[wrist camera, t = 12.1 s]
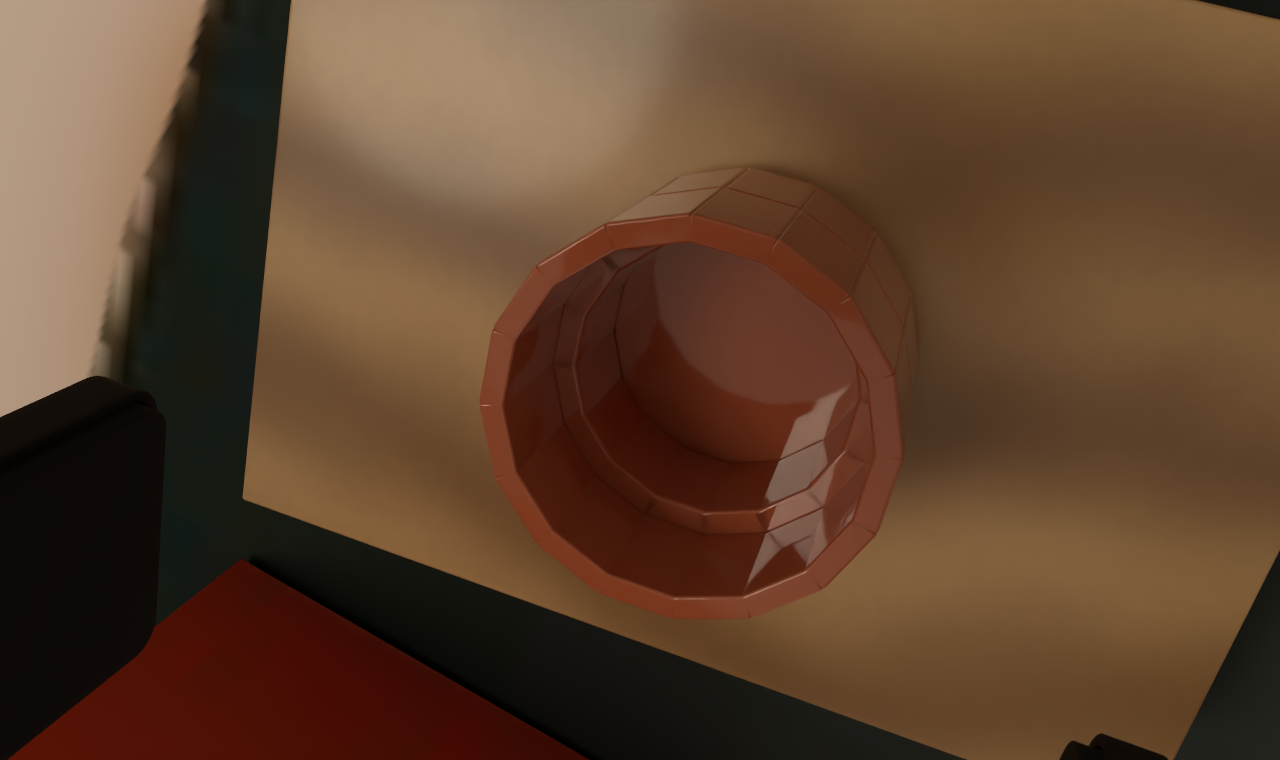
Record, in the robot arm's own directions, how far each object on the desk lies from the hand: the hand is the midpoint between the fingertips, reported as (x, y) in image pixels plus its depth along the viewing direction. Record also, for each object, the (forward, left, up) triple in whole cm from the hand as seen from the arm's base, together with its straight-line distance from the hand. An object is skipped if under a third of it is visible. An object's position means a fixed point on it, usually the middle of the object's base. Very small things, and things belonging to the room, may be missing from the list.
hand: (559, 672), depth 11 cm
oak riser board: (+1, -1, -18) cm, 18 cm away
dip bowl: (+1, -1, -13) cm, 13 cm away
